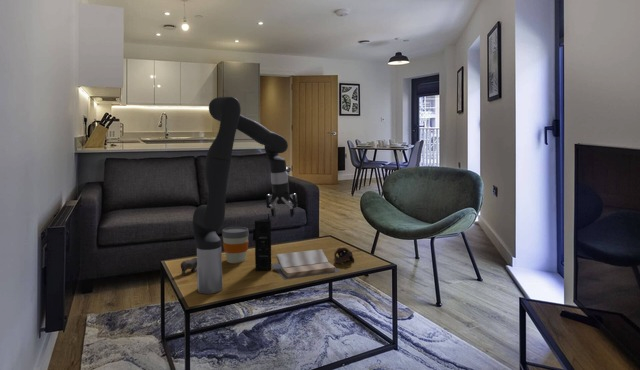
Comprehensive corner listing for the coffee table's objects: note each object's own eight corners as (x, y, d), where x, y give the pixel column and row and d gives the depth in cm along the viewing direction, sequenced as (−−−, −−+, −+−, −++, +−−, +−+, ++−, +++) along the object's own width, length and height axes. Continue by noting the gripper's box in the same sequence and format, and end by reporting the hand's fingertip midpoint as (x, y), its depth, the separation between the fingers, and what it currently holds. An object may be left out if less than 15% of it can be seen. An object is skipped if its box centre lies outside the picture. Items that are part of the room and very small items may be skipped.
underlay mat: (284, 280, 179) (284, 279, 179) (270, 264, 199) (270, 264, 199) (341, 272, 189) (341, 271, 189) (321, 258, 209) (321, 257, 209)
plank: (281, 270, 189) (282, 267, 188) (276, 257, 196) (276, 254, 195) (327, 264, 197) (328, 261, 197) (321, 252, 204) (321, 249, 204)
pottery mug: (359, 264, 201) (354, 252, 197) (342, 275, 199) (337, 262, 195) (347, 252, 211) (342, 239, 207) (331, 261, 209) (325, 249, 205)
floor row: (287, 277, 182) (287, 273, 181) (282, 272, 188) (282, 268, 188) (335, 271, 190) (335, 267, 190) (328, 266, 196) (328, 262, 196)
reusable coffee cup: (252, 256, 212) (251, 226, 210) (245, 264, 200) (244, 233, 198) (227, 256, 213) (226, 226, 211) (219, 263, 201) (218, 232, 199)
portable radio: (253, 272, 189) (252, 216, 186) (253, 267, 195) (252, 213, 192) (271, 271, 191) (270, 215, 187) (270, 266, 197) (269, 212, 193)
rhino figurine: (208, 267, 195) (207, 255, 195) (184, 276, 184) (183, 262, 183) (201, 266, 198) (201, 253, 197) (177, 274, 186) (177, 261, 185)
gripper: (261, 183, 191) (265, 219, 194) (292, 183, 187) (295, 218, 191) (267, 180, 198) (271, 214, 201) (297, 179, 194) (300, 214, 198)
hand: (283, 216), depth 196 cm, fingers open, 8 cm apart
